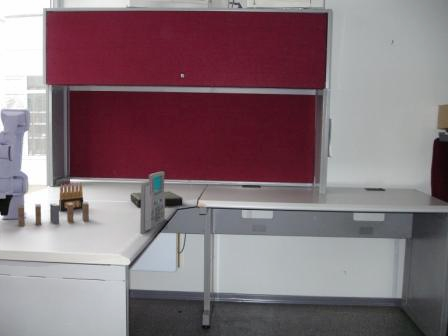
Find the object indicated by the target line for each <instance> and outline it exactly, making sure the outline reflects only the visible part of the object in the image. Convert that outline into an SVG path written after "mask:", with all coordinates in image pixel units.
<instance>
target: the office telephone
mask: <svg viewBox="0 0 448 336" xmlns="http://www.w3.org/2000/svg"><path fill="white" fill-rule="evenodd" d="M140 189H141V190H140V193H141V208H140V220H139V221H140V228H139V229H140V231H139V232H140V233H139V234H145V233H146V232H148V231H149V230H151V229H152V228H155V226H157V225H159V224H160V223H161V222H163V221H165V219H166V207H165V193H164V192H165V171H158V172H154V173H151V174H149V175H148V181H144V182H143V181H142V182H141V186H140Z"/></svg>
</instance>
